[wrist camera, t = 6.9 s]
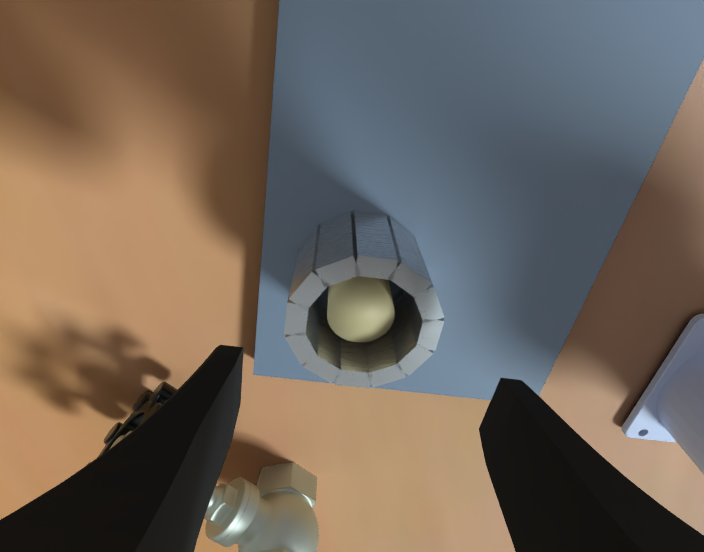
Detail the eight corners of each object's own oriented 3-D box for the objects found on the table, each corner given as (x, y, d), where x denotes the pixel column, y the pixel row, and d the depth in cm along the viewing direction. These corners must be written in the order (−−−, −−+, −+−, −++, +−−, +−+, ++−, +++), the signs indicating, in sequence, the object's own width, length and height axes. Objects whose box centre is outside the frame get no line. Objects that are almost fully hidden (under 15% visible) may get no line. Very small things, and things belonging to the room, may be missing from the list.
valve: (350, 471, 26) (182, 356, 21) (353, 597, 20) (122, 475, 15) (275, 520, 28) (108, 424, 23) (257, 647, 22) (31, 551, 17)
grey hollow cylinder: (435, 221, 17) (460, 268, 13) (407, 329, 19) (422, 393, 16) (302, 203, 16) (292, 246, 13) (291, 316, 19) (279, 379, 15)
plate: (844, -289, 11) (1070, -437, 8) (526, 390, 23) (560, 455, 19) (316, -443, 10) (302, -705, 6) (256, 361, 21) (240, 424, 18)
